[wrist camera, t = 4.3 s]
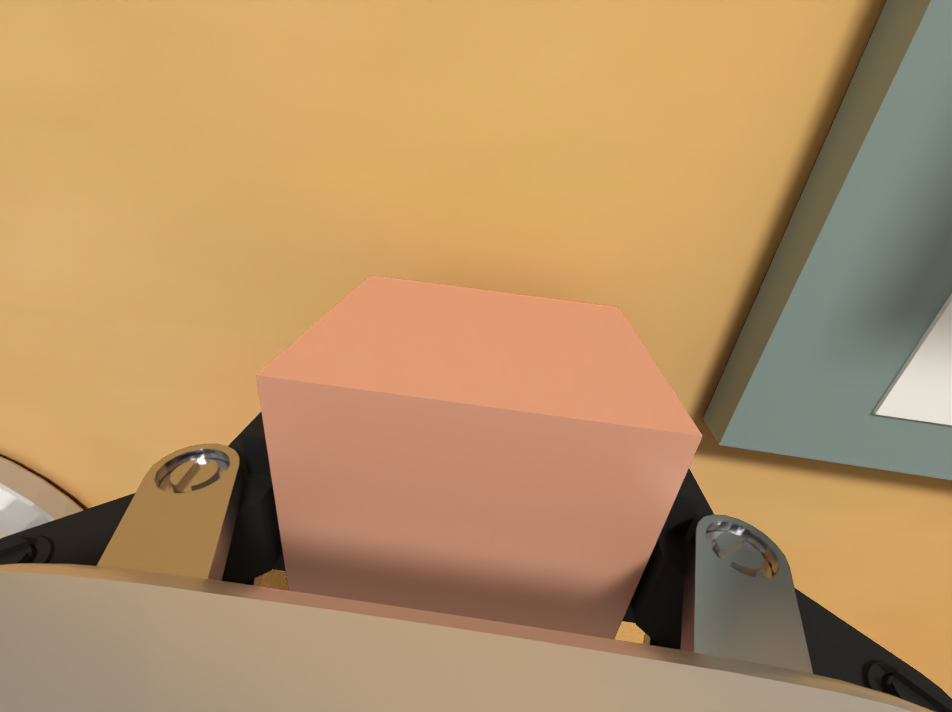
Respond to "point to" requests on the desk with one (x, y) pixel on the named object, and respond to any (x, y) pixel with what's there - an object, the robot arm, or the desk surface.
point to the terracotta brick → (473, 455)
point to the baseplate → (862, 276)
